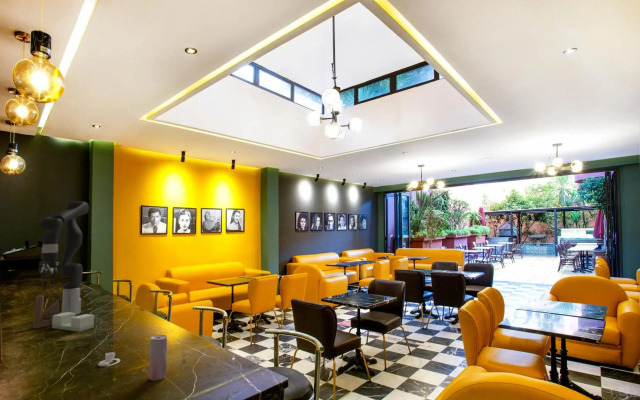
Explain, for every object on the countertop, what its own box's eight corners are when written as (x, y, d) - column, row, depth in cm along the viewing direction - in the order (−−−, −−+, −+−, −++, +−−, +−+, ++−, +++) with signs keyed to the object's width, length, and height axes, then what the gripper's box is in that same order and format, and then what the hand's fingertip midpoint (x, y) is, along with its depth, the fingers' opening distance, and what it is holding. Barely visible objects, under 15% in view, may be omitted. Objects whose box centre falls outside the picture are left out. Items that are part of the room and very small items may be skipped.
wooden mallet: (57, 324, 196) (59, 293, 198) (34, 329, 188) (36, 296, 189) (56, 323, 199) (58, 293, 200) (32, 327, 190) (34, 295, 192)
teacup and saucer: (101, 369, 135) (102, 359, 135) (92, 365, 139) (92, 355, 140) (124, 362, 143) (124, 352, 143) (114, 358, 147) (114, 348, 147)
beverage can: (152, 374, 129) (153, 334, 131) (168, 373, 130) (169, 334, 131) (145, 381, 124) (147, 340, 125) (162, 380, 124) (163, 339, 125)
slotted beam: (66, 324, 198) (67, 311, 198) (93, 327, 191) (94, 314, 191) (52, 327, 190) (52, 315, 191) (79, 331, 183) (80, 318, 184)
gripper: (65, 251, 198) (63, 279, 197) (48, 251, 203) (47, 278, 201) (51, 252, 191) (49, 281, 190) (34, 252, 195) (33, 280, 194)
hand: (48, 279), depth 195 cm, fingers open, 8 cm apart
